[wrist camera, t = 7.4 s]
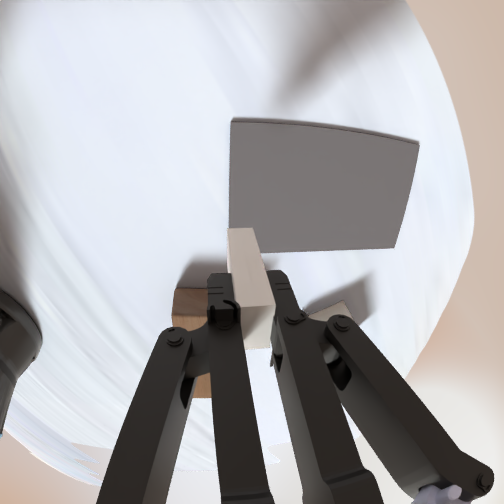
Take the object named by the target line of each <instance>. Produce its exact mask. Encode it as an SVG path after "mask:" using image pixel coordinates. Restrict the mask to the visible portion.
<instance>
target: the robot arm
mask: <svg viewBox="0 0 504 504" xmlns="http://www.w3.org/2000/svg"><path fill="white" fill-rule="evenodd" d="M227 269H228V273H216V274H211V275H210V277H209V279H208V280H207V283H208V306H207V321H206V323H205V324H204V325H203V326H201V327H200V328H198V329H195V330H192V331H187V330H186V329H184V328H181V327H170V328H167V329H165V330H164V331H162V333H161V334H160V335H159V337H158V339H157V342H156V344H155V346H154V349H153V351H152V353H151V356H150V358H149V360H148V363H147V365H146V368H145V370H144V372H143V375H142V377H141V380H140V382H139V385H138V387H137V389H136V392H135V394H134V397H133V400H132V402H131V405H130V407H129V410H128V412H127V415H126V418H125V420H124V423H123V426H122V428H121V431H120V434H119V436H118V439H117V442H116V445H115V447H114V450H113V453H112V456H111V459H110V462H109V465H108V468H107V471H106V474H105V477H104V480H103V483H102V486H101V489H100V492H99V496H98V499H97V502H96V504H166V499H167V495H168V491H169V487H170V483H171V479H172V475H173V471H174V467H175V463H176V459H177V455H178V451H179V447H180V443H181V439H182V435H183V432H184V428H185V424H186V420H187V416H188V413H189V409H190V405H191V401H192V398H193V394H194V390H195V386H196V383H197V379H198V376H201V375H204V374H207V373H210V383H211V398H212V412H213V425H214V436H215V447H216V457H217V467H218V476H219V484H220V492H221V504H275V503H274V499H273V496H272V494H271V492H270V489H269V485H268V480H267V475H266V469H265V464H264V459H263V453H262V448H261V442H260V437H259V431H258V426H257V420H256V414H255V409H254V403H253V397H252V391H251V385H250V379H249V373H248V367H247V361H246V354H245V350H248V349H260V348H270V343H271V344H272V348H273V350H272V356H271V362H270V367H272V366H273V364H274V369H275V373H276V377H277V382H278V386H279V390H280V395H281V399H282V403H283V407H284V412H285V416H286V420H287V425H288V429H289V433H290V437H291V442H292V446H293V450H294V454H295V459H296V463H297V467H298V471H299V475H300V479H301V484H302V489H303V496H302V500H303V504H384V503H383V499H382V496H381V493H380V490H379V487H378V484H377V481H376V479H375V477H374V475H373V474H372V472H371V471H369V470H367V469H365V468H364V466H363V465H362V462H361V459H360V456H359V453H358V451H357V448H356V445H355V442H354V439H353V436H352V433H351V430H350V427H349V425H348V422H347V419H346V416H345V413H344V410H343V408H342V405H343V407H344V408H345V410H346V411H347V412H348V414H349V415H350V417H351V418H352V420H353V421H354V423H355V424H356V426H357V427H358V429H359V430H360V431H361V433H362V434H363V436H364V437H365V439H366V440H367V442H368V443H369V444H370V446H371V447H372V449H373V450H374V452H375V453H376V455H377V456H378V458H379V459H380V460H381V462H382V463H383V465H384V466H385V468H386V469H387V471H388V472H389V473H390V475H391V476H392V478H393V479H394V480H395V482H396V483H397V484H398V486H399V487H400V488H401V489H402V490H403V491H404V492H405V493H406V494H408V495H409V496H410V497H411V498H413V499H414V501H413V502H412V503H411V504H470V503H471V502H472V500H475V499H477V498H479V497H482V496H484V495H486V494H487V493H488V492H489V491H490V490H491V488H492V486H493V482H494V473H493V471H492V469H491V468H490V467H488V466H487V465H485V464H483V463H481V462H479V461H478V460H476V459H474V458H473V457H471V456H469V455H468V454H466V453H464V452H462V451H461V450H460V449H459V448H458V447H457V446H456V444H455V443H454V442H453V440H452V439H451V438H450V436H449V435H448V434H447V432H446V431H445V430H444V429H443V427H442V426H441V425H440V424H439V422H438V421H437V420H436V418H435V417H434V416H433V415H432V414H431V412H430V411H429V410H428V409H427V407H426V406H425V405H424V403H423V402H422V401H421V400H420V398H419V397H418V396H417V395H416V394H415V392H414V391H413V390H412V389H411V387H410V386H409V385H408V384H407V383H406V381H405V380H404V379H403V378H402V377H401V375H400V374H399V373H398V372H397V371H396V369H395V368H394V367H393V366H392V365H391V363H390V362H389V361H388V360H387V359H386V357H385V356H384V355H383V354H382V353H381V352H380V350H379V349H378V348H377V347H376V346H375V345H374V343H373V342H372V341H371V340H370V339H369V338H368V336H367V335H366V334H365V333H364V332H363V331H362V330H361V328H360V327H359V326H358V325H357V324H356V323H355V321H354V320H352V319H351V318H350V317H348V316H346V315H341V314H337V315H333V316H331V317H329V319H328V321H320V320H314V319H311V318H309V317H308V316H307V314H306V313H305V312H303V311H302V310H300V308H299V306H298V303H297V300H296V298H295V295H294V293H293V290H292V287H291V285H290V282H289V280H288V277H287V275H286V274H285V273H283V272H282V271H281V270H270V271H266V270H265V267H264V263H263V260H262V257H261V253H260V250H259V247H258V243H257V240H256V237H255V233H254V230H253V228H227ZM41 346H42V339H41V335H40V333H39V330H38V328H37V327H36V325H35V323H34V322H33V320H32V319H31V318H30V316H29V315H28V314H27V313H26V312H25V311H24V309H23V308H22V307H21V306H20V305H19V304H18V303H17V302H15V301H14V300H13V299H12V298H11V297H9V296H8V295H7V294H5V293H4V292H2V291H0V438H1V437H2V431H3V427H4V423H5V419H6V415H7V411H8V407H9V404H10V401H11V397H12V394H13V391H14V388H15V385H16V382H17V380H18V378H19V377H20V376H21V375H22V374H23V372H24V371H25V370H26V369H27V368H28V367H29V365H30V364H31V363H32V362H33V361H34V360H35V359H36V358H37V356H38V354H39V351H40V349H41ZM341 404H342V405H341Z"/></svg>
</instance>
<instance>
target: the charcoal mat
mask: <svg viewBox="0 0 504 504" xmlns="http://www.w3.org/2000/svg"><path fill="white" fill-rule="evenodd" d="M419 147H420V145H417V144H413V143H409V142H405V141H400V140H396V139H391V138H386V137H381V136H376V135H371V134H365V133H359V132H353V131H346V130H339V129H332V128H323V127H314V126H304V125H293V124H279V123H259V122H231V128H230V172H229V228H253V230H254V233H255V237H256V240H257V243H258V247H259V250H260V253H280V252H307V251H334V250H360V249H387V248H394V247H395V244H396V241H397V238H398V234H399V231H400V228H401V224H402V221H403V217H404V214H405V210H406V206H407V202H408V198H409V194H410V190H411V186H412V181H413V177H414V172H415V168H416V163H417V158H418V152H419Z"/></svg>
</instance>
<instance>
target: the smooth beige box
mask: <svg viewBox="0 0 504 504" xmlns="http://www.w3.org/2000/svg"><path fill="white" fill-rule="evenodd" d="M337 314H341V315H346V316H348V317H350V318H351V319H352V320H354V319H353V318H352V316H351V314H350V312H349V310H348V308H347V307H346V305H345V303H344V301H341V302H339V303H336V304H334V305H332V306H330V307H327V308H325V309H323V310H321V311H318V312H316V313H314V314H311V315H309V316H308V317H309V318H311V319H314V320H320V321H328V319H329V317H331V316H333V315H337Z"/></svg>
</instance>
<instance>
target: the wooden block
mask: <svg viewBox="0 0 504 504" xmlns="http://www.w3.org/2000/svg"><path fill="white" fill-rule="evenodd" d="M207 306H208V289H193V288H177V289H175V291H174V298H173V307H172V323H173V327H181V328H184V329H186V330H187V331H192V330H195V329H198V328H200V327H201V326H203V325H204V324H205V323H206V321H207ZM193 398H211V383H210V373H207V374H204V375H201V376H198V379H197V383H196V386H195V390H194V394H193Z"/></svg>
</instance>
